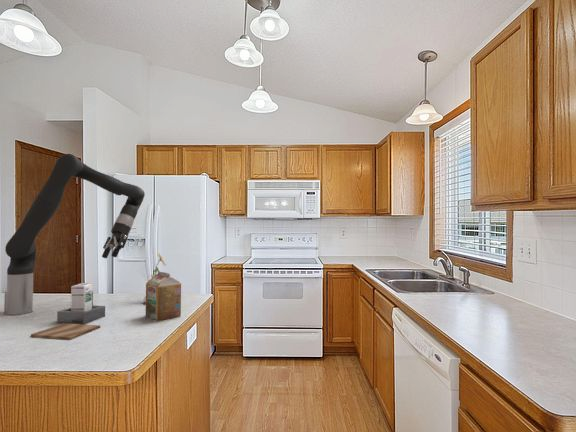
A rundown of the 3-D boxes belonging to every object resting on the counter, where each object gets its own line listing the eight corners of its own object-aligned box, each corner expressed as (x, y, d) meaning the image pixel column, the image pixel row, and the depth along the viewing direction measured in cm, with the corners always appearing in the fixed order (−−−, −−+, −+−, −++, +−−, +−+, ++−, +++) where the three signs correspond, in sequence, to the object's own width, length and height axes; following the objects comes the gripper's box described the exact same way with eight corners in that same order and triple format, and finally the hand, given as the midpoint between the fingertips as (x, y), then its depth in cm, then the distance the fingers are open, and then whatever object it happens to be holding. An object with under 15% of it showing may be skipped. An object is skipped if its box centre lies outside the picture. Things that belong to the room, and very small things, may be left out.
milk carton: (180, 316, 146) (181, 272, 146) (157, 321, 138) (157, 274, 139) (168, 312, 153) (169, 269, 154) (145, 316, 146) (146, 272, 146)
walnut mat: (30, 336, 119) (30, 334, 119) (63, 325, 133) (63, 323, 133) (70, 339, 116) (70, 337, 116) (100, 327, 130) (100, 325, 130)
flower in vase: (162, 305, 166) (163, 253, 167) (139, 305, 166) (139, 253, 167) (171, 299, 179) (172, 251, 180) (150, 299, 179) (151, 251, 180)
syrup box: (84, 321, 137) (85, 285, 138) (70, 321, 137) (71, 285, 138) (93, 317, 143) (93, 283, 143) (79, 317, 143) (79, 283, 144)
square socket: (57, 322, 135) (57, 311, 136) (80, 315, 147) (80, 304, 147) (83, 324, 133) (83, 313, 133) (105, 316, 145) (105, 305, 145)
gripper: (108, 223, 163) (93, 255, 155) (124, 219, 155) (109, 252, 147) (122, 230, 168) (108, 261, 160) (138, 227, 160) (124, 259, 152)
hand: (108, 257), depth 154 cm, fingers open, 8 cm apart
